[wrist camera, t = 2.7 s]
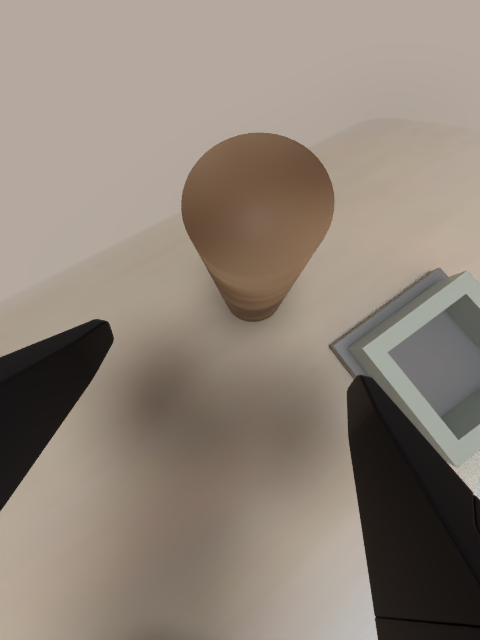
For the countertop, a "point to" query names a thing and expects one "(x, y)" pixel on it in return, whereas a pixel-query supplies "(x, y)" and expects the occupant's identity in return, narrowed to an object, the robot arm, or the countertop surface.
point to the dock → (426, 359)
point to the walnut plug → (257, 217)
